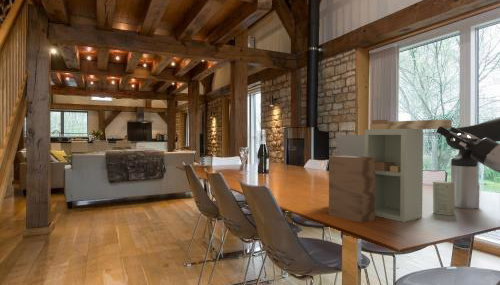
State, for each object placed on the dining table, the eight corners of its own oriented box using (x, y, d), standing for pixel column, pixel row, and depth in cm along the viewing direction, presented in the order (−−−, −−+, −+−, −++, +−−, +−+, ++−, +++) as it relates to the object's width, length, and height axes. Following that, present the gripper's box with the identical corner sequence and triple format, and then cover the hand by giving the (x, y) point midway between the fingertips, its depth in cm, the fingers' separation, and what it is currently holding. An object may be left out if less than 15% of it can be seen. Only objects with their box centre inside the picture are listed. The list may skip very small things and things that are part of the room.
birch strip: (374, 129, 128) (374, 122, 128) (380, 130, 130) (380, 122, 130) (445, 128, 107) (445, 119, 106) (451, 128, 109) (451, 119, 109)
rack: (382, 209, 131) (382, 121, 131) (422, 217, 118) (423, 119, 118) (363, 213, 125) (364, 120, 124) (404, 222, 111) (405, 118, 111)
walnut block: (342, 211, 127) (343, 155, 126) (374, 219, 115) (375, 157, 115) (328, 214, 122) (329, 156, 122) (360, 222, 111) (361, 158, 110)
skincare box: (454, 214, 123) (455, 182, 123) (449, 216, 121) (450, 183, 120) (437, 211, 128) (437, 180, 128) (432, 212, 126) (432, 181, 125)
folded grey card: (369, 204, 141) (370, 135, 140) (373, 207, 135) (373, 135, 135) (336, 203, 142) (336, 135, 142) (338, 206, 137) (338, 135, 136)
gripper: (510, 144, 100) (460, 119, 111) (492, 145, 92) (440, 118, 103) (495, 164, 103) (448, 138, 114) (476, 167, 95) (427, 138, 106)
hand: (444, 129), depth 109 cm, fingers open, 8 cm apart
